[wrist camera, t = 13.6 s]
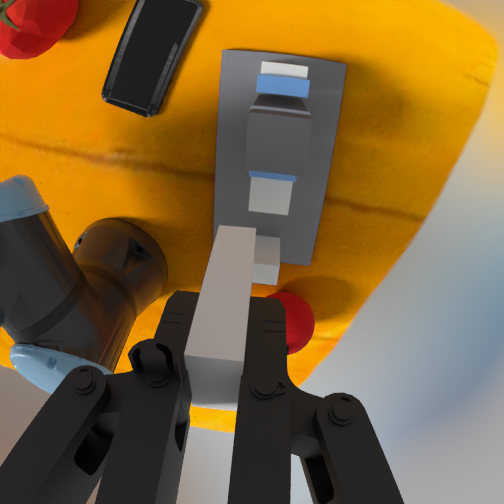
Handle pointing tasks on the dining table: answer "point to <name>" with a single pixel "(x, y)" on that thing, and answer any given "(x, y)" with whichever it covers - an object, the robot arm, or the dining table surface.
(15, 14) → the tomato
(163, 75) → the phone
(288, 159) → the plug
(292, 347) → the ornament
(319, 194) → the grey plate with blocks
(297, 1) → the dining table surface
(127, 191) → the dining table surface
